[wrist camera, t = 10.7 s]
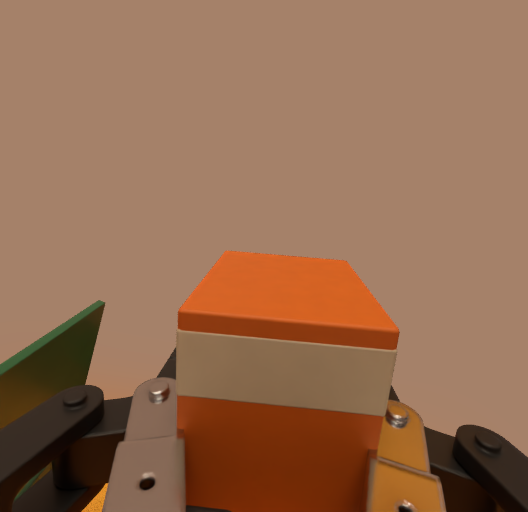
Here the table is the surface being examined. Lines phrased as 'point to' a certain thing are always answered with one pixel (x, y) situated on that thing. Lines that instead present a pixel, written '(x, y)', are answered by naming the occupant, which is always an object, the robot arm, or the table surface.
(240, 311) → the block
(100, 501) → the table surface
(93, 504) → the table surface
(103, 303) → the green box lid flap
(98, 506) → the table surface
